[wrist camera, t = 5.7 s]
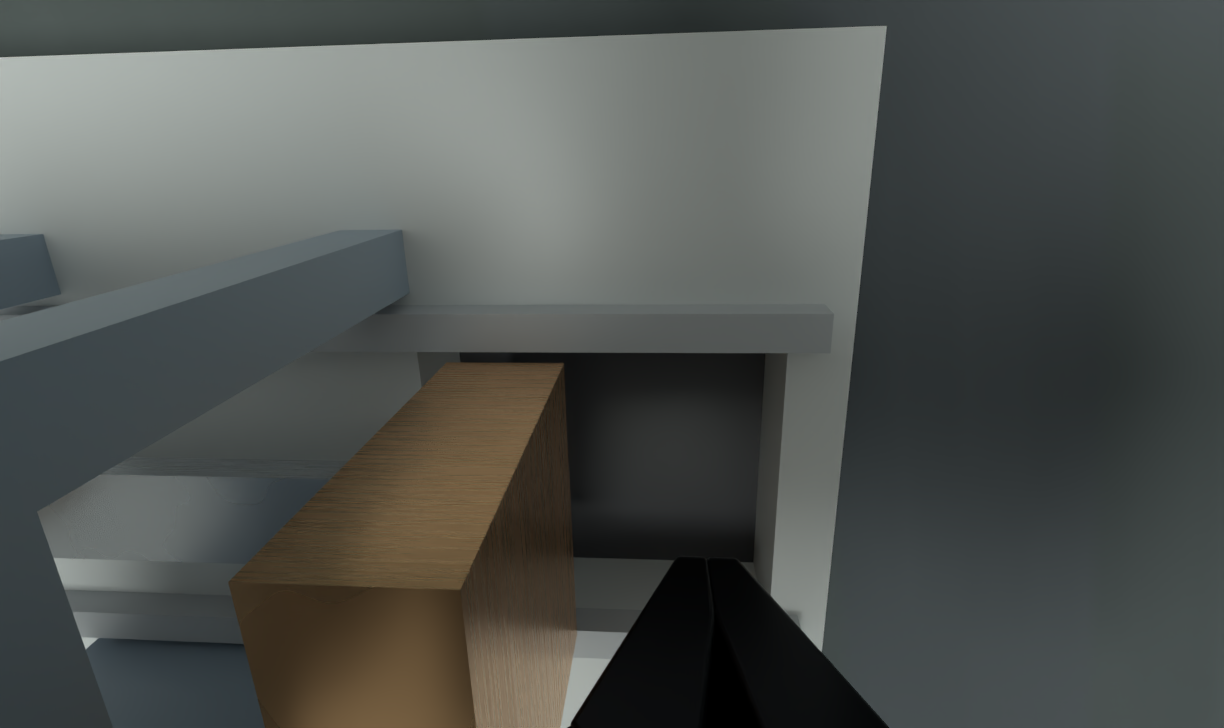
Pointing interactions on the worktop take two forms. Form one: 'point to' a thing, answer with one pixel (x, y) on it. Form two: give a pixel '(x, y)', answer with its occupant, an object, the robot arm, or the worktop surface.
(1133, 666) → the worktop surface
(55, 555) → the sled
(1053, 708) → the worktop surface
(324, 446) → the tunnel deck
